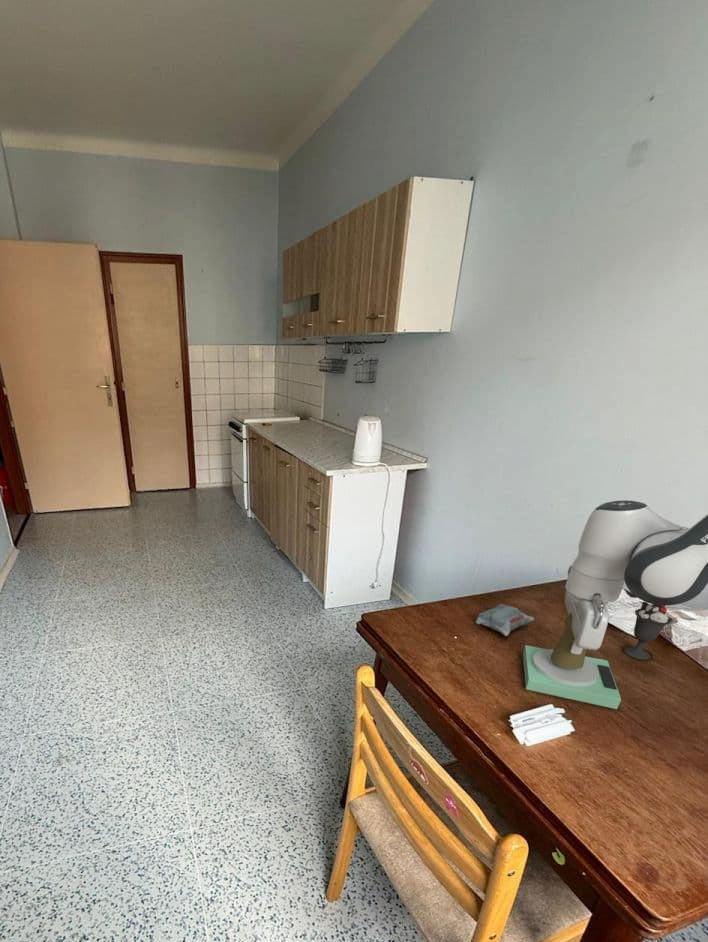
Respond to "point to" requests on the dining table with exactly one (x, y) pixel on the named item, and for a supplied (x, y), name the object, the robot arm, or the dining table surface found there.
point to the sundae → (647, 627)
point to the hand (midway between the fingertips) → (572, 644)
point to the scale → (570, 678)
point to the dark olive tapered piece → (567, 649)
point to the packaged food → (503, 618)
